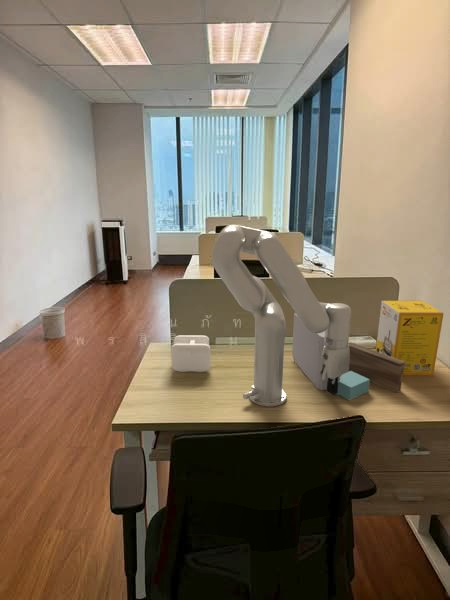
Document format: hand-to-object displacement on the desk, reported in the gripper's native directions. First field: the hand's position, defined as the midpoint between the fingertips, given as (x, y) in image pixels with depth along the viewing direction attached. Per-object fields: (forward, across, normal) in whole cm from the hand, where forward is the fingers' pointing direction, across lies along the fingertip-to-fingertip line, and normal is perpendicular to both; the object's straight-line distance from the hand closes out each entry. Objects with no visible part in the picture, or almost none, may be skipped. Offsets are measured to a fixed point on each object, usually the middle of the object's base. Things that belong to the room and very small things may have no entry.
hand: (331, 392), depth 130 cm
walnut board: (+3, +23, 0) cm, 23 cm away
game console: (+3, +10, +17) cm, 20 cm away
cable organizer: (+3, -24, +49) cm, 55 cm away
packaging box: (+3, +44, -1) cm, 44 cm away
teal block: (+3, +10, 0) cm, 10 cm away
